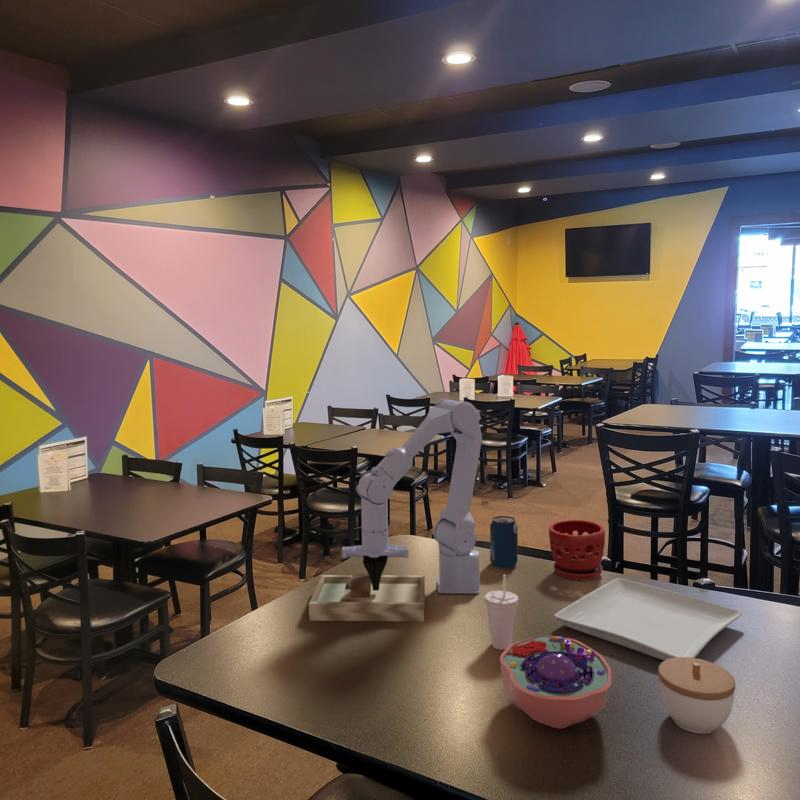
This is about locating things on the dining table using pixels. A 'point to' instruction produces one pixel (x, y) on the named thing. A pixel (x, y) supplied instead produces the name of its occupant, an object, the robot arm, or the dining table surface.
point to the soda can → (503, 542)
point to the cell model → (555, 679)
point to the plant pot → (577, 548)
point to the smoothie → (501, 616)
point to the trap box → (369, 600)
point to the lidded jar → (696, 693)
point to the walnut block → (360, 585)
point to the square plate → (648, 618)
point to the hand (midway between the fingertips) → (376, 588)
